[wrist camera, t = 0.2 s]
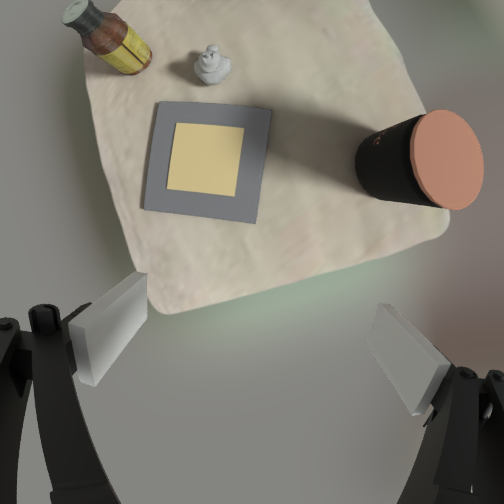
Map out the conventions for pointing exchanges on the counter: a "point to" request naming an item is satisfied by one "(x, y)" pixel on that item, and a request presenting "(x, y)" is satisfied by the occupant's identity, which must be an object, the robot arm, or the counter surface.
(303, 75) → the counter surface
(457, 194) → the coffee jar
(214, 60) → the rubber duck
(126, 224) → the counter surface
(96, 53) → the sauce bottle
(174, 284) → the counter surface
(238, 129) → the board
